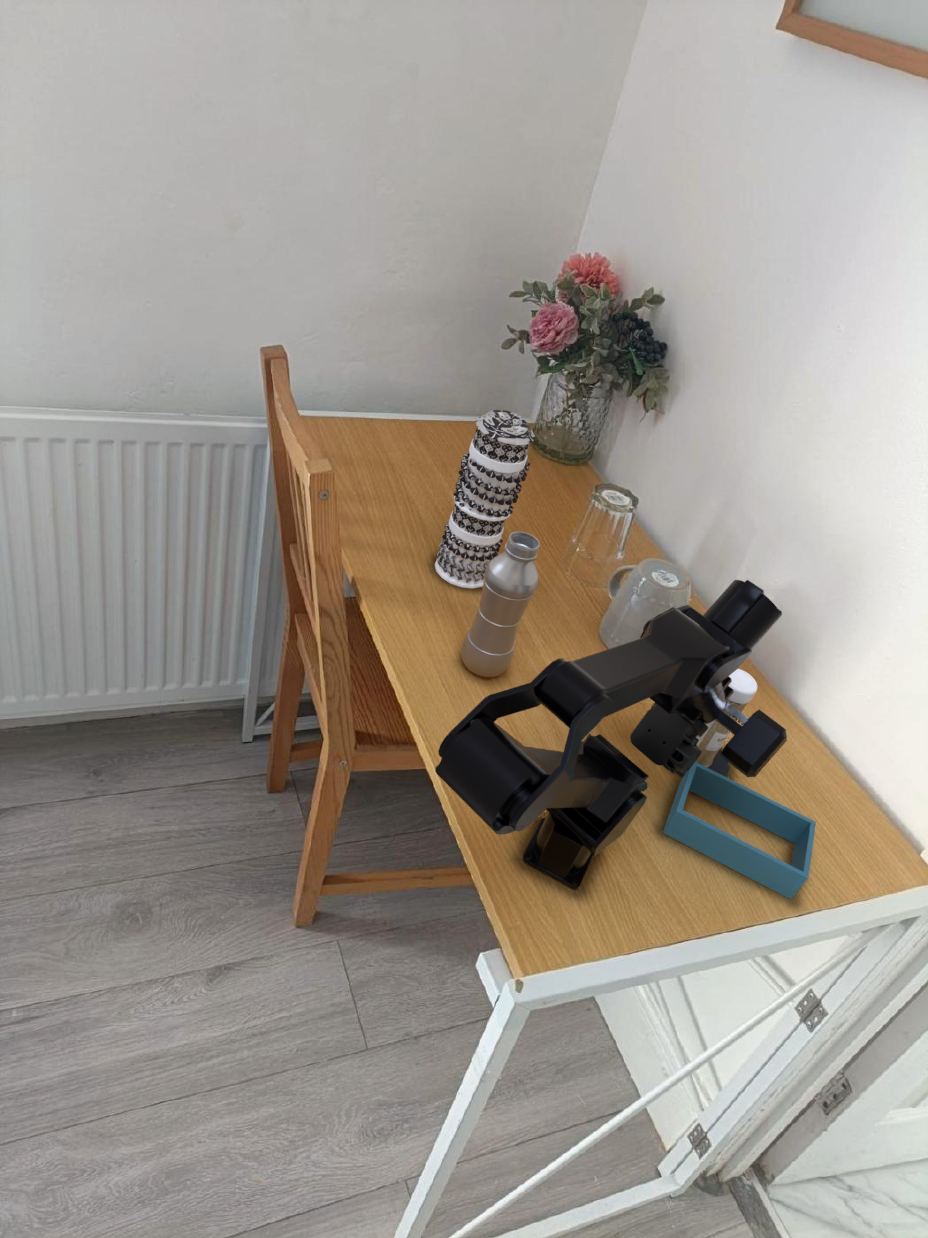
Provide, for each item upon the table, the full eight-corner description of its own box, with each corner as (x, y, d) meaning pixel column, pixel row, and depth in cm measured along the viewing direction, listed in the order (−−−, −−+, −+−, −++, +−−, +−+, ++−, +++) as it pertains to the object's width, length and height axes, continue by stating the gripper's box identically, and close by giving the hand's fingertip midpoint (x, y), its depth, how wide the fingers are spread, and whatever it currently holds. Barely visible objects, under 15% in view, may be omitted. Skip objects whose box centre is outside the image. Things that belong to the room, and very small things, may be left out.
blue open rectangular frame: (790, 900, 96) (808, 878, 94) (662, 833, 99) (676, 810, 97) (799, 843, 103) (816, 821, 101) (679, 782, 106) (693, 760, 104)
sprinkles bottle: (711, 775, 108) (759, 697, 100) (675, 762, 108) (721, 684, 100) (711, 750, 112) (758, 673, 104) (677, 738, 112) (721, 660, 104)
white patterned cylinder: (502, 589, 129) (554, 437, 114) (444, 591, 125) (490, 434, 110) (479, 552, 135) (526, 404, 120) (424, 552, 131) (465, 399, 116)
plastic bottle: (502, 690, 111) (549, 563, 99) (452, 673, 111) (492, 545, 99) (510, 659, 116) (555, 535, 104) (462, 643, 116) (501, 518, 104)
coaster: (721, 796, 106) (722, 795, 106) (652, 762, 108) (653, 760, 108) (733, 752, 113) (734, 750, 113) (668, 720, 115) (669, 718, 115)
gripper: (573, 685, 93) (600, 721, 107) (715, 804, 84) (724, 826, 98) (642, 607, 93) (660, 653, 107) (790, 717, 85) (789, 751, 98)
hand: (705, 720), depth 103 cm, fingers open, 9 cm apart
